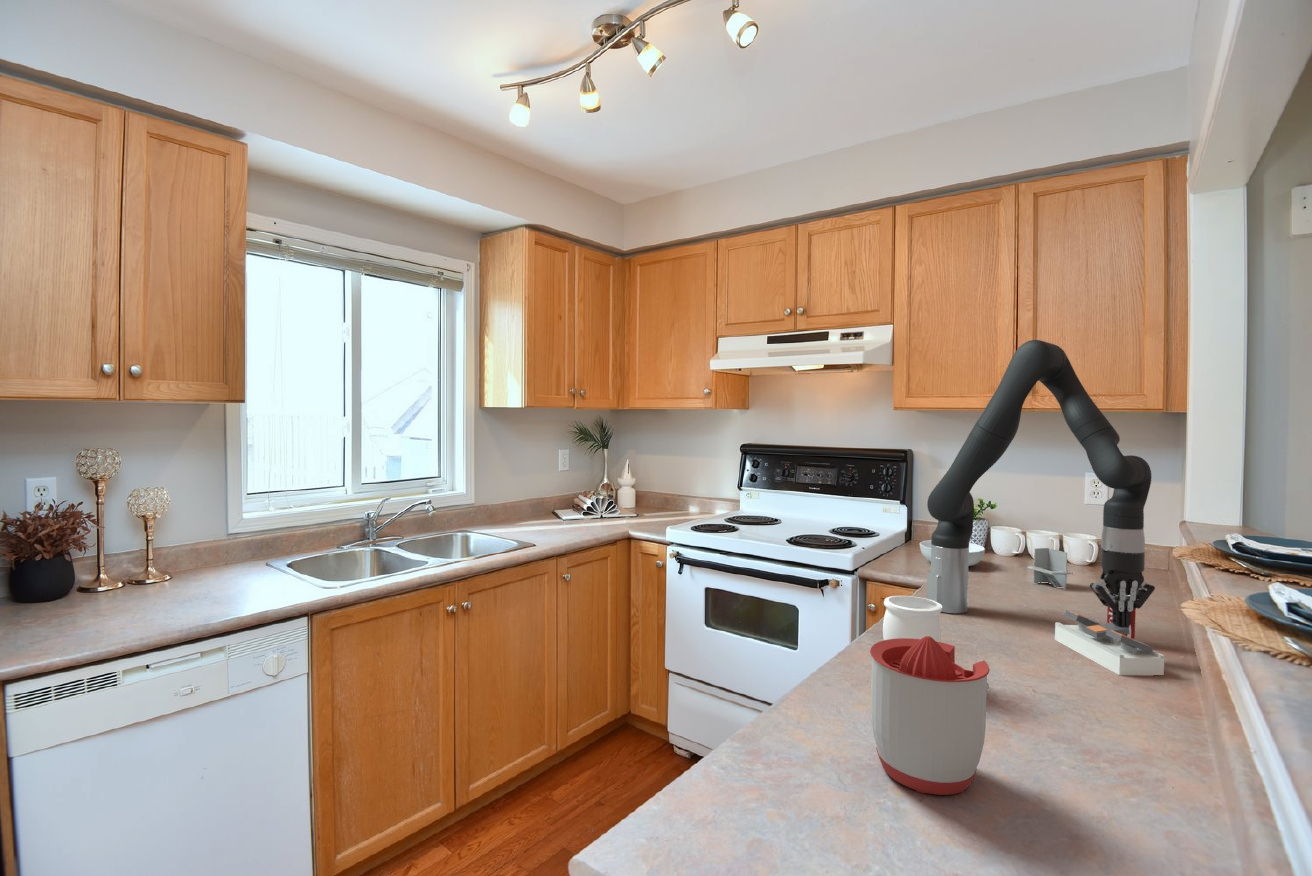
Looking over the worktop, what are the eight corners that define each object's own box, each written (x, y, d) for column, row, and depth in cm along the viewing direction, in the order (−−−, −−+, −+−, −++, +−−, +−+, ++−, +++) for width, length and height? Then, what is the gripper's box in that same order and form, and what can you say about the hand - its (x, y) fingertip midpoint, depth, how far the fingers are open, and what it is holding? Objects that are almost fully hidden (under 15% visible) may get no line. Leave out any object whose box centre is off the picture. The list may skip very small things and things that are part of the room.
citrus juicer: (1023, 794, 85) (1028, 649, 84) (916, 816, 80) (920, 662, 79) (940, 737, 100) (943, 614, 99) (845, 752, 95) (848, 623, 94)
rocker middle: (1097, 638, 133) (1096, 632, 133) (1084, 632, 137) (1083, 626, 137) (1129, 634, 133) (1128, 627, 133) (1115, 627, 137) (1114, 621, 137)
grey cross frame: (1051, 599, 180) (1052, 559, 180) (998, 580, 201) (999, 544, 200) (1105, 595, 184) (1106, 557, 184) (1047, 578, 204) (1048, 543, 204)
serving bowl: (908, 558, 230) (908, 539, 229) (961, 557, 232) (962, 539, 232) (939, 572, 209) (940, 552, 209) (998, 571, 211) (998, 551, 211)
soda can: (1139, 646, 141) (1141, 594, 141) (1113, 644, 142) (1115, 592, 142) (1126, 638, 146) (1128, 588, 146) (1101, 637, 147) (1103, 586, 147)
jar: (937, 671, 126) (939, 598, 126) (942, 692, 116) (944, 613, 116) (881, 664, 130) (883, 592, 129) (882, 684, 120) (884, 606, 119)
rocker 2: (1119, 641, 127) (1122, 635, 127) (1105, 634, 131) (1107, 628, 131) (1151, 653, 127) (1153, 647, 127) (1136, 646, 131) (1138, 640, 131)
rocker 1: (1076, 620, 140) (1078, 615, 140) (1064, 615, 144) (1066, 609, 144) (1104, 631, 140) (1107, 625, 140) (1092, 625, 144) (1094, 620, 144)
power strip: (1119, 675, 125) (1120, 651, 125) (1038, 630, 151) (1039, 611, 151) (1163, 675, 125) (1164, 651, 125) (1075, 631, 151) (1076, 611, 151)
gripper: (1139, 544, 138) (1138, 621, 139) (1080, 544, 138) (1079, 622, 139) (1167, 551, 131) (1166, 633, 131) (1104, 551, 131) (1103, 633, 131)
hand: (1121, 627), depth 135 cm, fingers closed
